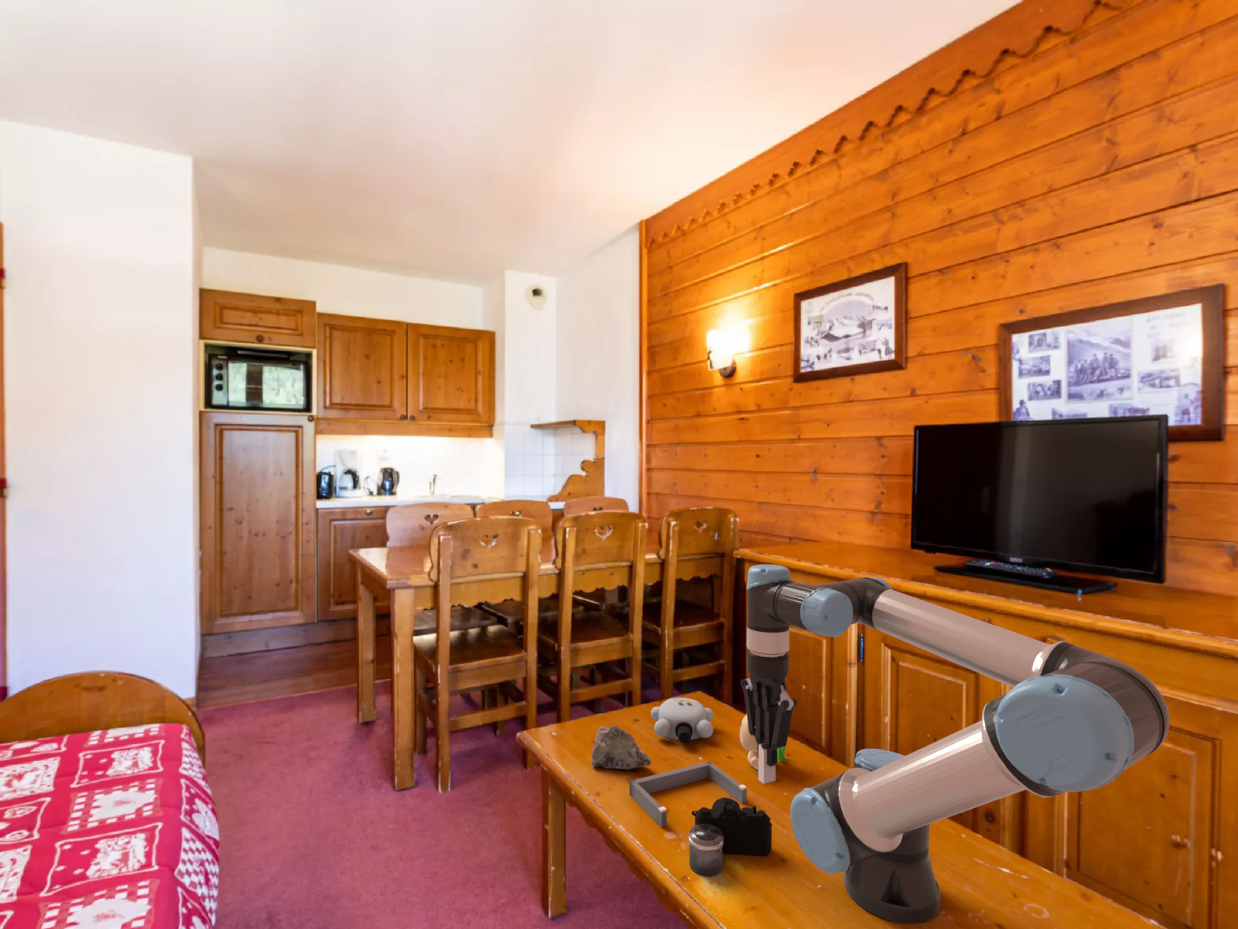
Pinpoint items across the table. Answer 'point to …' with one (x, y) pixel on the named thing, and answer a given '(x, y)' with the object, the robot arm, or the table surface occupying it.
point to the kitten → (754, 744)
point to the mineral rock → (617, 750)
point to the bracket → (676, 778)
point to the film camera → (738, 827)
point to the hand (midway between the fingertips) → (766, 780)
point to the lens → (706, 850)
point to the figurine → (682, 720)
